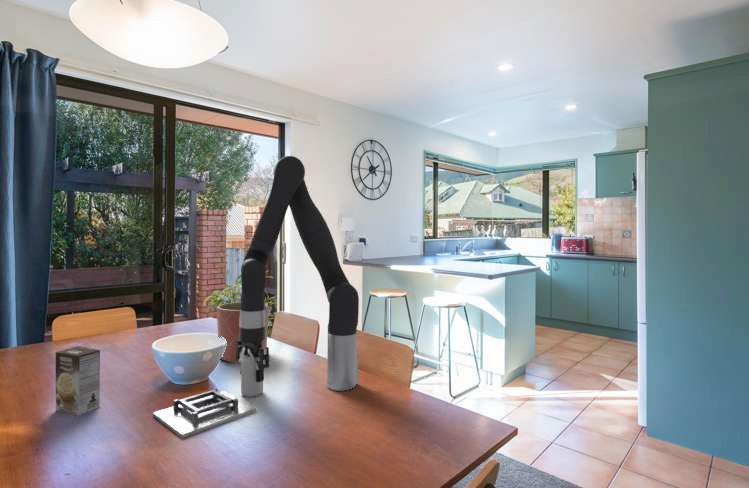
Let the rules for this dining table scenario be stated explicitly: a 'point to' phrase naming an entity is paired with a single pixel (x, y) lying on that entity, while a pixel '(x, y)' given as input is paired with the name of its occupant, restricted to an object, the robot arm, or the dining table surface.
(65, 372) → the coffee box
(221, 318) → the planter
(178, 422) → the collar stand
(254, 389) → the beverage can
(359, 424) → the dining table surface
